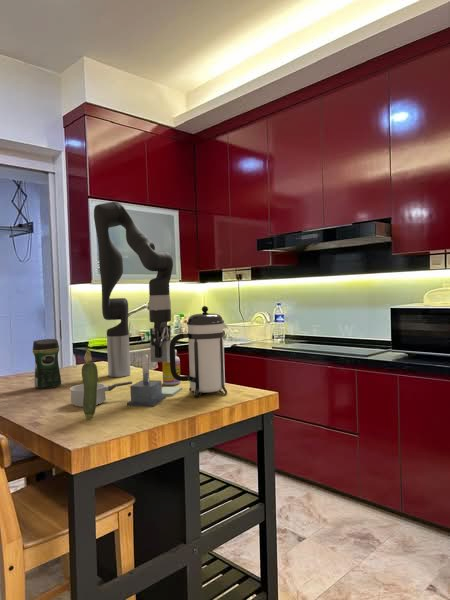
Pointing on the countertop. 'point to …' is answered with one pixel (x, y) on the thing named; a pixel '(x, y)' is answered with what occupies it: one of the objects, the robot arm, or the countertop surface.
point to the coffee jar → (46, 363)
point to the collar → (164, 349)
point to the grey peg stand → (146, 389)
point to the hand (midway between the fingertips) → (161, 356)
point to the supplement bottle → (167, 375)
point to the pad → (170, 390)
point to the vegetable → (89, 385)
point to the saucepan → (78, 393)
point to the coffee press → (203, 353)
